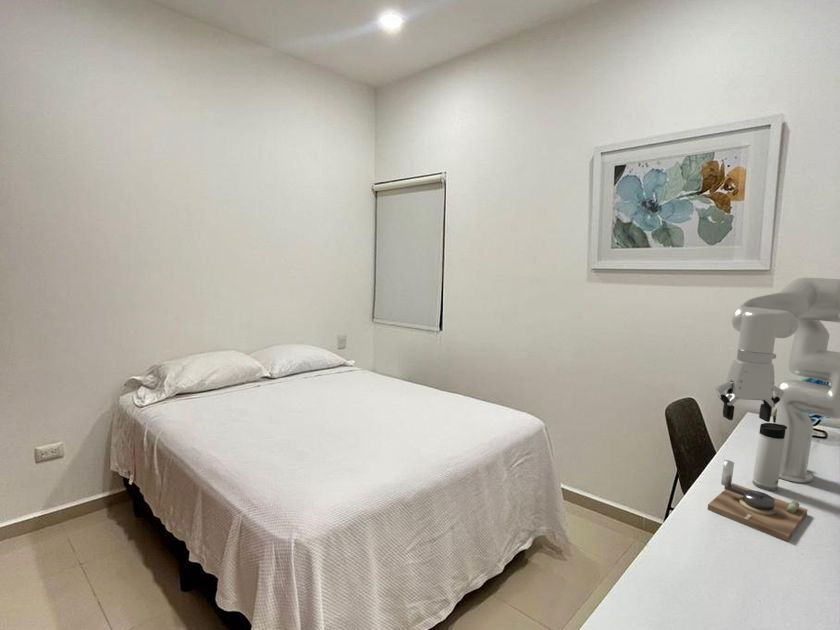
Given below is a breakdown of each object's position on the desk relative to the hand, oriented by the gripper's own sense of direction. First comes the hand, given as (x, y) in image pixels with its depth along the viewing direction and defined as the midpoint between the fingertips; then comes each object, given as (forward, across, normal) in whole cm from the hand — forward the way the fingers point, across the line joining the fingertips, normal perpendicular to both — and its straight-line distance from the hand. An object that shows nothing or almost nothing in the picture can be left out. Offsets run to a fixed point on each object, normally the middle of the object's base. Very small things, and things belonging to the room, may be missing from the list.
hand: (745, 419), depth 123 cm
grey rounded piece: (+24, -5, -3) cm, 25 cm away
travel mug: (+27, -20, -16) cm, 37 cm away
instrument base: (+27, -7, -1) cm, 28 cm away
